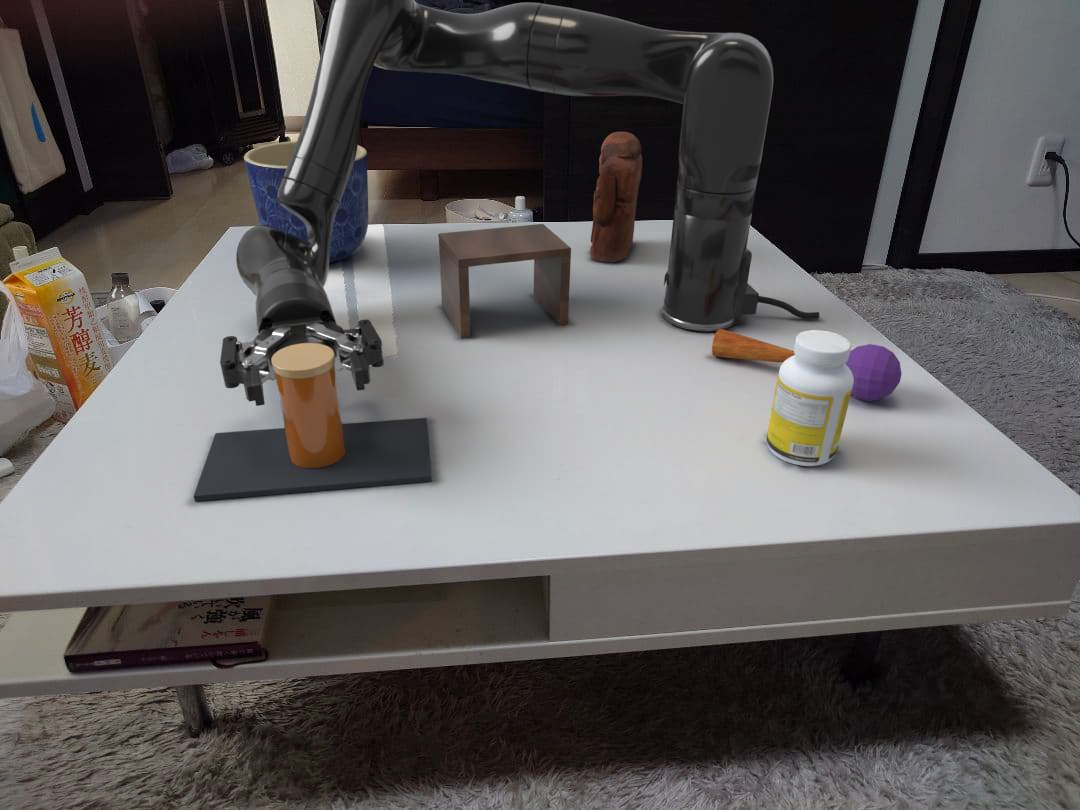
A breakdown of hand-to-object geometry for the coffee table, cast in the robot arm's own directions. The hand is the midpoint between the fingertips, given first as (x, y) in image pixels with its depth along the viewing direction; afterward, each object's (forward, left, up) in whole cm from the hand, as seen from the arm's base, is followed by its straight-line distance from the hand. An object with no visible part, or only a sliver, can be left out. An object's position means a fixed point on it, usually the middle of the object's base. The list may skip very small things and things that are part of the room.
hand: (310, 388), depth 67 cm
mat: (0, -1, -8) cm, 8 cm away
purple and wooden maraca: (-51, -9, -8) cm, 53 cm away
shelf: (-21, -31, -8) cm, 38 cm away
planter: (+4, -57, -8) cm, 57 cm away
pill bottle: (-45, +4, -8) cm, 46 cm away
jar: (0, -1, -7) cm, 7 cm away
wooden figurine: (-41, -53, -8) cm, 67 cm away
